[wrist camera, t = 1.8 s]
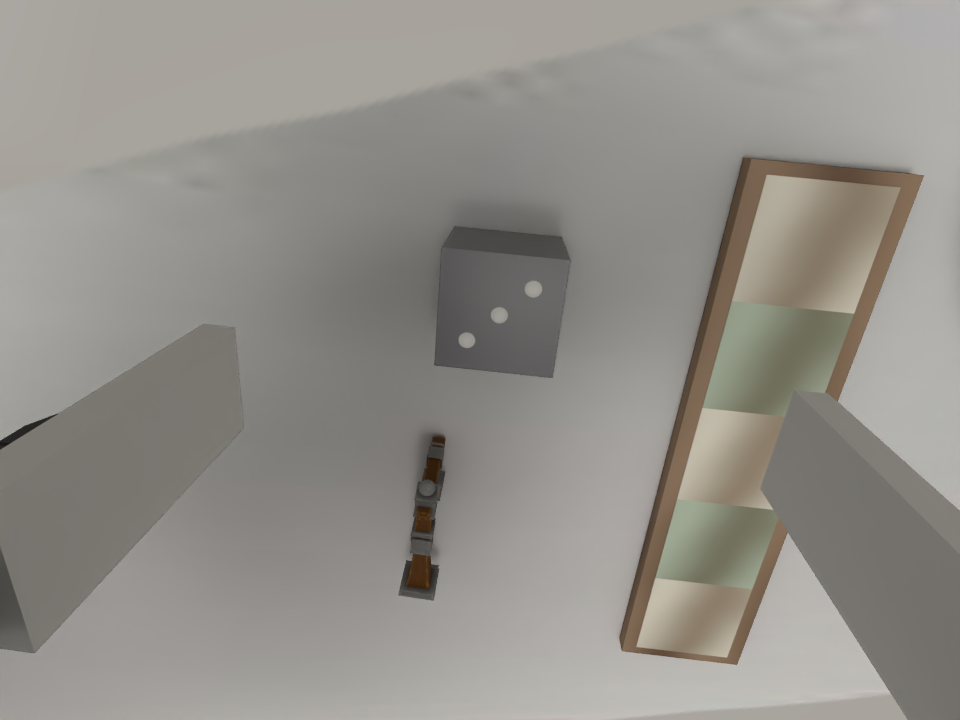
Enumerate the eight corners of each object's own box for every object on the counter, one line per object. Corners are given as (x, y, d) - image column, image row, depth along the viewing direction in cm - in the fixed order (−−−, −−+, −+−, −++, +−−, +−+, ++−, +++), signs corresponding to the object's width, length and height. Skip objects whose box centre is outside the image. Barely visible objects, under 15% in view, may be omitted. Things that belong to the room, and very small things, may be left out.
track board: (619, 638, 32) (621, 651, 31) (743, 157, 22) (752, 158, 21) (731, 652, 32) (737, 665, 31) (910, 173, 22) (924, 175, 21)
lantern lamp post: (432, 604, 28) (445, 501, 23) (397, 598, 28) (402, 494, 23) (446, 529, 31) (459, 426, 27) (414, 524, 31) (422, 420, 27)
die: (448, 326, 25) (433, 366, 21) (455, 226, 24) (440, 248, 19) (551, 336, 25) (558, 380, 21) (566, 237, 23) (576, 261, 19)
